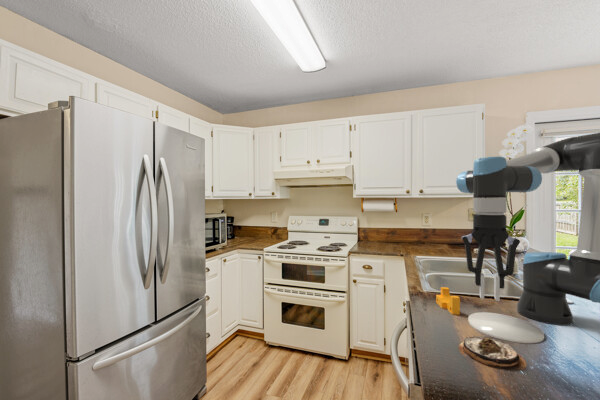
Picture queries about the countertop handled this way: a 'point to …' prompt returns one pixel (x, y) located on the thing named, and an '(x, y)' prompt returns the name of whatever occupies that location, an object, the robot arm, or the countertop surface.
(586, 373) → the countertop surface
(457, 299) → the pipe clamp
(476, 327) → the plate
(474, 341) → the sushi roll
